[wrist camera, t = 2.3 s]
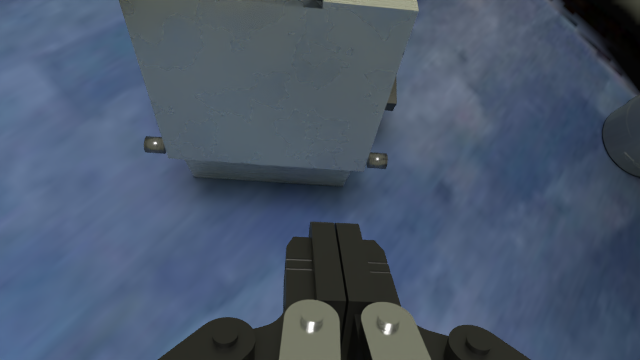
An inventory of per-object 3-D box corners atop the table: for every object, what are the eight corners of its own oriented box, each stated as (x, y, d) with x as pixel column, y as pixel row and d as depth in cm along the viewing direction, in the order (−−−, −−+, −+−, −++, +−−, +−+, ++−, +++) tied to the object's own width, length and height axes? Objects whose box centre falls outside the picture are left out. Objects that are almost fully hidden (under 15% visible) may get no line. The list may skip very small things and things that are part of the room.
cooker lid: (362, 160, 41) (363, 171, 40) (171, 147, 40) (168, 158, 39) (435, -61, 24) (438, -47, 23) (98, -99, 22) (91, -86, 22)
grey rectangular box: (378, 195, 50) (402, 167, 40) (154, 180, 48) (126, 147, 38) (378, 61, 55) (400, 9, 45) (175, 43, 53) (154, -16, 43)
